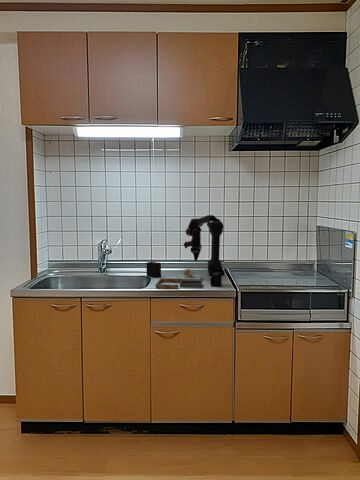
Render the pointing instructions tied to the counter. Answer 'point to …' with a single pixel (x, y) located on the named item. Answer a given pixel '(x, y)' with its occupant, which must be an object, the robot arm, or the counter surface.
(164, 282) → the cubby
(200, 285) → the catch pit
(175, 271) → the counter surface
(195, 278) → the platform
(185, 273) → the beech cube
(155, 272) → the electronic device
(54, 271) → the counter surface
